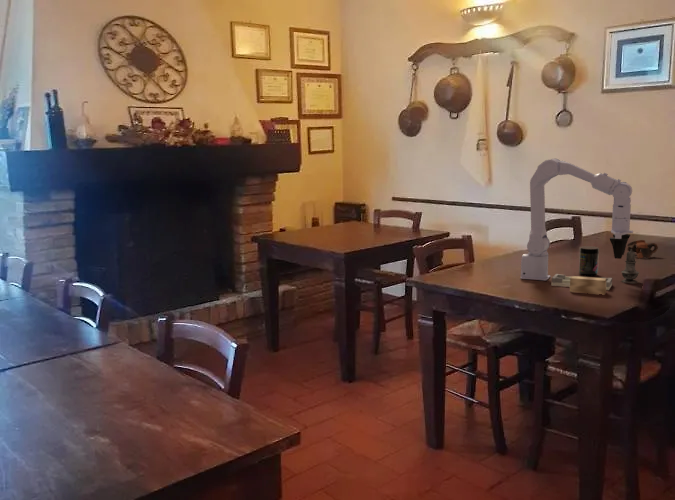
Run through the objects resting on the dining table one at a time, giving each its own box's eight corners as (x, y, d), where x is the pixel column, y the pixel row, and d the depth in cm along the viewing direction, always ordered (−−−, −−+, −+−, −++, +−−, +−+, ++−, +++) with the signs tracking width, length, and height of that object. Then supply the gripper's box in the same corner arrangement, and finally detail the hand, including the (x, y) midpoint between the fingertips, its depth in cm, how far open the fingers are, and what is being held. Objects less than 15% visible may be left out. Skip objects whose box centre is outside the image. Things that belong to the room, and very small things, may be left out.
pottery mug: (631, 260, 283) (625, 241, 286) (630, 266, 292) (624, 248, 294) (661, 253, 280) (655, 235, 283) (659, 259, 288) (654, 241, 291)
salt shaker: (640, 283, 237) (642, 250, 235) (622, 283, 238) (624, 250, 236) (636, 280, 243) (638, 247, 241) (619, 279, 244) (620, 247, 242)
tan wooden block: (569, 292, 228) (570, 278, 227) (571, 290, 231) (572, 275, 230) (604, 295, 223) (605, 280, 222) (605, 293, 226) (606, 278, 225)
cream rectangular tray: (551, 285, 238) (551, 278, 237) (556, 280, 245) (556, 273, 245) (608, 290, 229) (609, 282, 228) (612, 284, 236) (612, 277, 236)
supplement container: (592, 277, 249) (593, 249, 247) (575, 275, 254) (576, 247, 252) (601, 274, 253) (602, 247, 252) (584, 272, 258) (585, 245, 257)
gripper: (631, 220, 224) (629, 260, 227) (635, 215, 237) (633, 253, 239) (609, 220, 228) (607, 259, 230) (614, 215, 240) (612, 252, 243)
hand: (619, 256), depth 235 cm, fingers open, 7 cm apart
